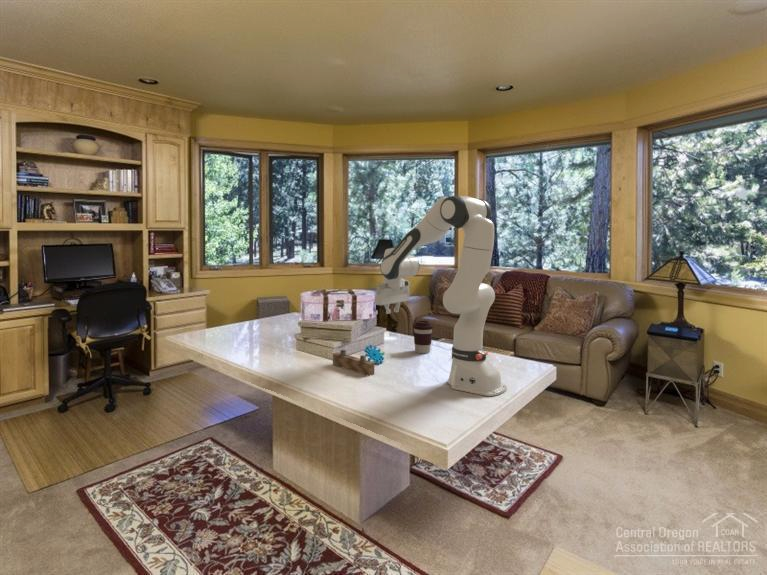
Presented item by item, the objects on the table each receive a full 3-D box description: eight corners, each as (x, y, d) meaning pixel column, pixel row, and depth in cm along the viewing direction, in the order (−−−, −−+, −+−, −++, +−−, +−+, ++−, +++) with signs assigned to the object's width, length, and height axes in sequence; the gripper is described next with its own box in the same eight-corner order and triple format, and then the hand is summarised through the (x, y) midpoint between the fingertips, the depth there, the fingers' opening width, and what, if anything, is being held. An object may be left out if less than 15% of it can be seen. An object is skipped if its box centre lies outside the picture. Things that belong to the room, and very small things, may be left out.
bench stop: (374, 374, 183) (374, 357, 182) (369, 376, 181) (369, 359, 180) (337, 363, 198) (337, 347, 197) (332, 364, 195) (332, 349, 194)
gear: (370, 363, 192) (362, 344, 198) (363, 370, 196) (356, 351, 201) (390, 362, 200) (381, 343, 205) (383, 369, 203) (375, 350, 208)
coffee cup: (408, 352, 217) (409, 322, 215) (418, 348, 225) (418, 318, 224) (427, 355, 212) (427, 324, 210) (436, 351, 220) (436, 321, 218)
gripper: (382, 285, 193) (382, 316, 195) (412, 281, 209) (411, 311, 210) (372, 284, 198) (371, 314, 199) (401, 280, 213) (401, 309, 215)
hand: (392, 312), depth 205 cm, fingers open, 4 cm apart
